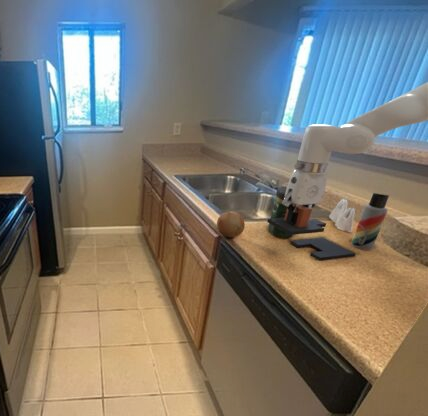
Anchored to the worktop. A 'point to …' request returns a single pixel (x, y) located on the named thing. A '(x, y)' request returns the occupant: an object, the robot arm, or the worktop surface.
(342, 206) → the shaker set
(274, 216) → the coffee jar
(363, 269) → the worktop surface
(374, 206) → the lotion bottle
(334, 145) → the robot arm
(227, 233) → the brown ball
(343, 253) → the charcoal pad
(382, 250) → the worktop surface
